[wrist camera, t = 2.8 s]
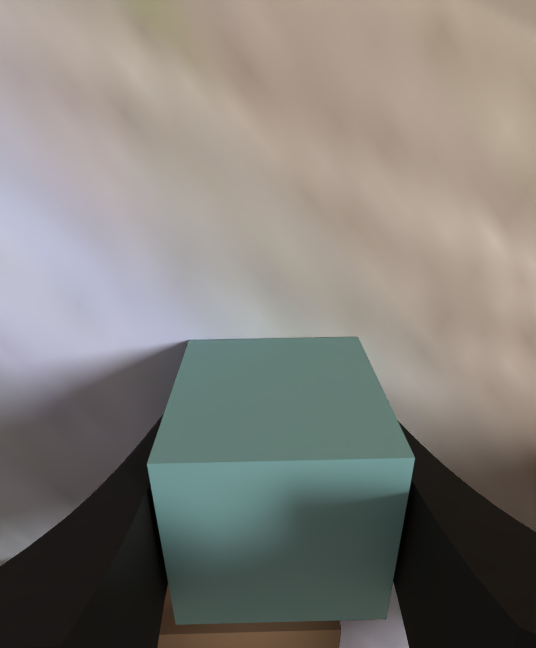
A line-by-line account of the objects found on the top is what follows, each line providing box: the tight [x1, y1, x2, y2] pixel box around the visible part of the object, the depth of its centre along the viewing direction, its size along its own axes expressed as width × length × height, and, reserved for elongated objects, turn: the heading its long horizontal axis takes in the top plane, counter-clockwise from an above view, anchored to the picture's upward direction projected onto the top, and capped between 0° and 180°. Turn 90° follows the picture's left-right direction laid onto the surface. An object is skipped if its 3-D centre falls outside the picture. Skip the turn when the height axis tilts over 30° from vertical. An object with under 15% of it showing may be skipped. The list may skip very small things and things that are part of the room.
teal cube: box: [147, 337, 415, 625], centre depth 11 cm, size 5×5×5 cm
